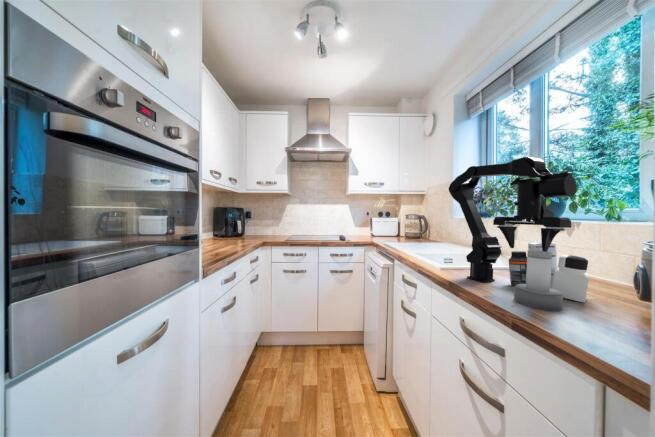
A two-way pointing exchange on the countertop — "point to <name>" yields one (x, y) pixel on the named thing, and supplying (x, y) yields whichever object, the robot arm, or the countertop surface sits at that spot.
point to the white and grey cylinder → (538, 270)
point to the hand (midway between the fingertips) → (527, 250)
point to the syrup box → (551, 249)
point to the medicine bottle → (571, 277)
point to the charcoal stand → (538, 298)
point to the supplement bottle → (518, 267)
